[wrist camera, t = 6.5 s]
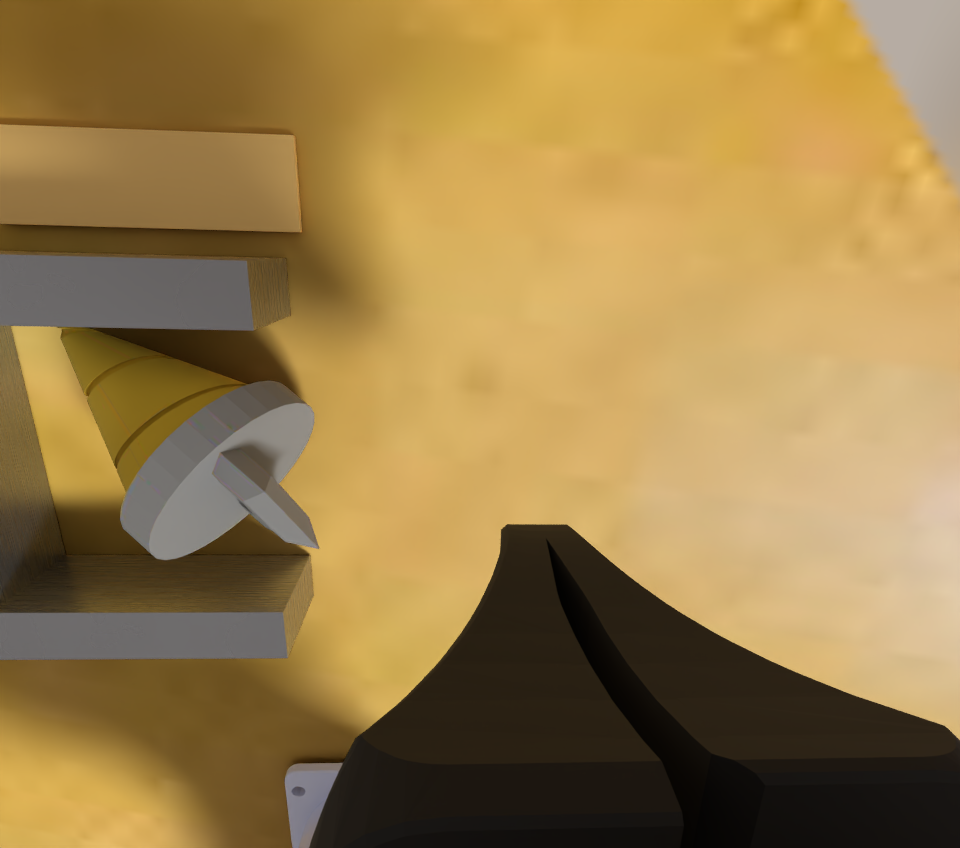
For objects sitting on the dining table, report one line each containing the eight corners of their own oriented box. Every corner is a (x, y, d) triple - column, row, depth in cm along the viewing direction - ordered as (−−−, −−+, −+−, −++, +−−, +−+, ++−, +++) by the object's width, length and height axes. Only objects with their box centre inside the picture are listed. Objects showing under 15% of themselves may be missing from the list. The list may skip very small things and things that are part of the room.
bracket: (313, 595, 19) (287, 658, 16) (27, 595, 18) (-53, 659, 15) (286, 257, 15) (246, 260, 12) (-69, 249, 15) (-194, 249, 12)
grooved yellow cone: (385, 499, 18) (167, 314, 19) (391, 443, 13) (98, 198, 14) (259, 635, 16) (20, 419, 17) (210, 631, 11) (-123, 325, 12)
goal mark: (302, 232, 15) (300, 232, 15) (4, 224, 15) (-2, 223, 15) (295, 136, 14) (293, 134, 14) (-19, 125, 14) (-25, 123, 14)
